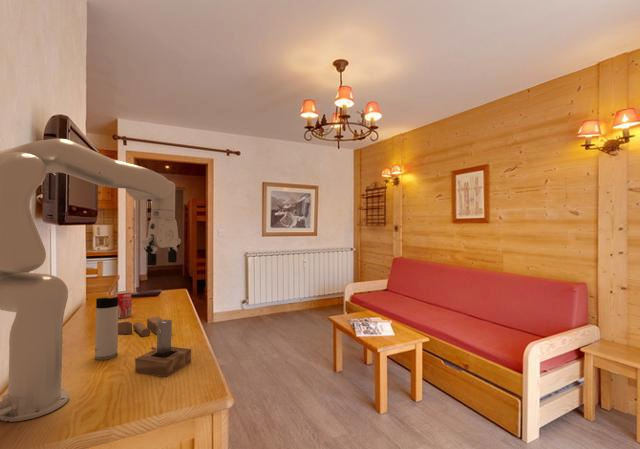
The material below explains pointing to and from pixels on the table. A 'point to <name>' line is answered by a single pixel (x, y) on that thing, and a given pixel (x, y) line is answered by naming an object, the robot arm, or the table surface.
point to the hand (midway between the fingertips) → (162, 263)
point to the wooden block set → (139, 327)
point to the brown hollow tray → (162, 362)
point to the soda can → (124, 304)
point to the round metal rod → (164, 338)
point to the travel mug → (106, 328)
